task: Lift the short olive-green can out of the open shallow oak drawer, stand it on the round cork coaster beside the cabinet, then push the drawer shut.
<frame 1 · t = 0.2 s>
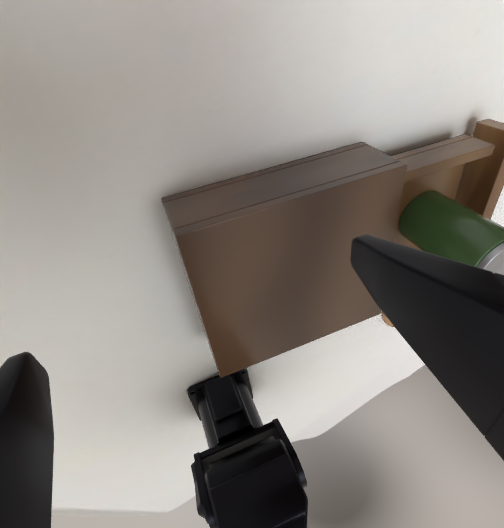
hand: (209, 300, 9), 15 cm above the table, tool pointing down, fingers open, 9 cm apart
cabinet: (275, 248, 29), on the table
drawer: (430, 215, 30), point 2 cm above the table, slide at 10.0 cm, touching can
can: (420, 214, 30), point 2 cm above the table, touching drawer
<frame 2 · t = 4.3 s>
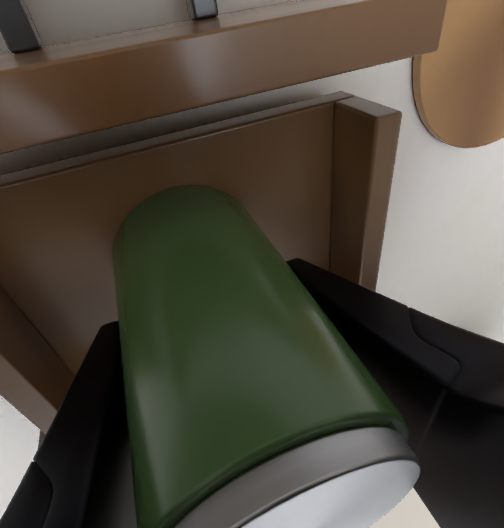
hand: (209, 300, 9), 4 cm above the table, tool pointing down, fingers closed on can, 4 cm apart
drawer: (187, 244, 10), point 2 cm above the table, slide at 10.0 cm, touching can
can: (188, 251, 11), point 2 cm above the table, touching drawer, gripper
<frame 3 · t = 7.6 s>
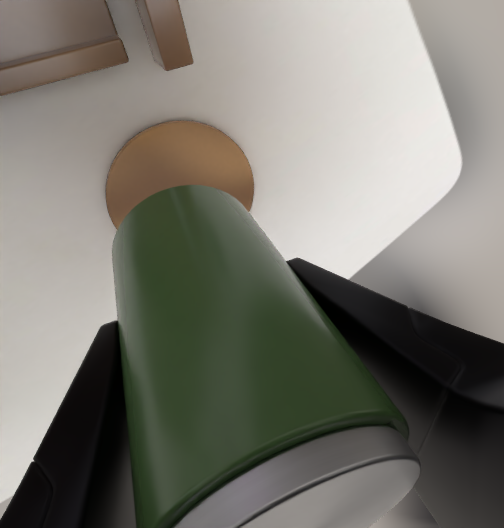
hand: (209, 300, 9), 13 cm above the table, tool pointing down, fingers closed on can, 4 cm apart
coaster: (184, 196, 21), on the table
can: (188, 251, 11), point 11 cm above the table, touching gripper
when the fingers open (3 cm above the table, at t = 11.1 s): can stays where it is, resting on coaster.
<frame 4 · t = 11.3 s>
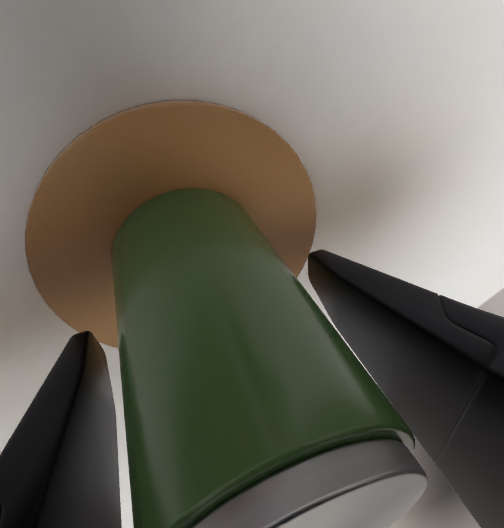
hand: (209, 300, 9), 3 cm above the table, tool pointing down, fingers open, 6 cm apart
coaster: (189, 248, 11), on the table
can: (188, 254, 11), resting on coaster
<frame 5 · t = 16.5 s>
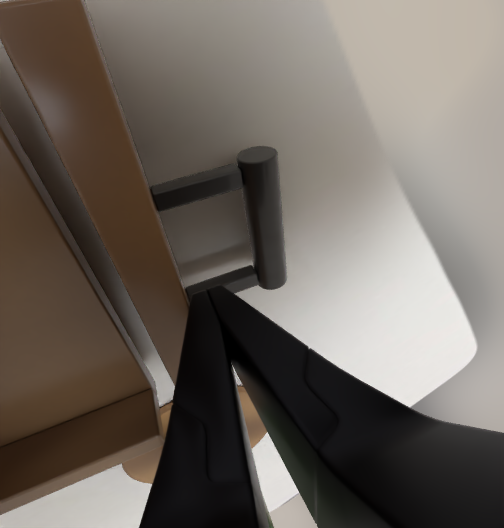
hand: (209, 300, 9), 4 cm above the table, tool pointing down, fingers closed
coaster: (201, 435, 20), on the table
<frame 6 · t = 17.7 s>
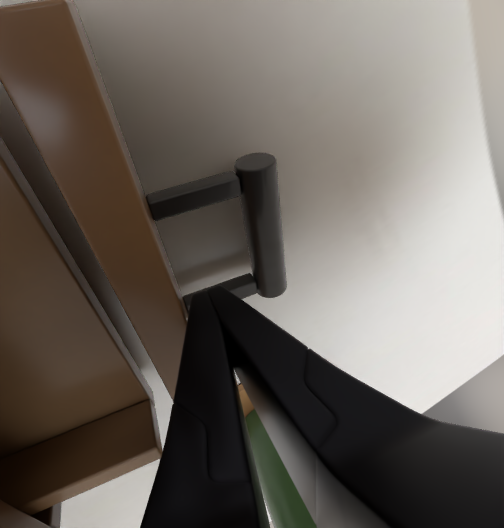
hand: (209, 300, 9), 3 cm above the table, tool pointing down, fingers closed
can: (275, 416, 21), resting on coaster
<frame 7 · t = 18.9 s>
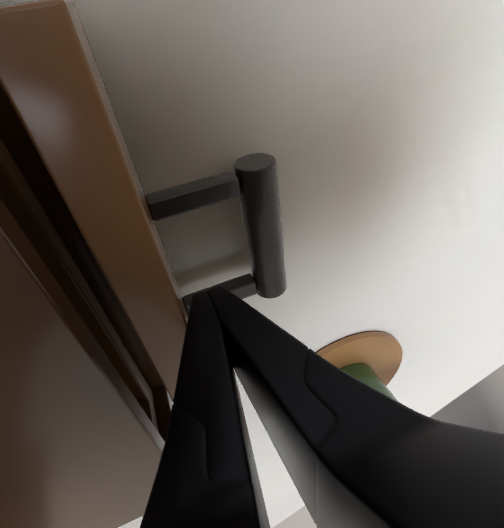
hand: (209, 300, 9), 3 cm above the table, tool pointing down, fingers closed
coaster: (338, 382, 22), on the table
can: (340, 387, 22), resting on coaster
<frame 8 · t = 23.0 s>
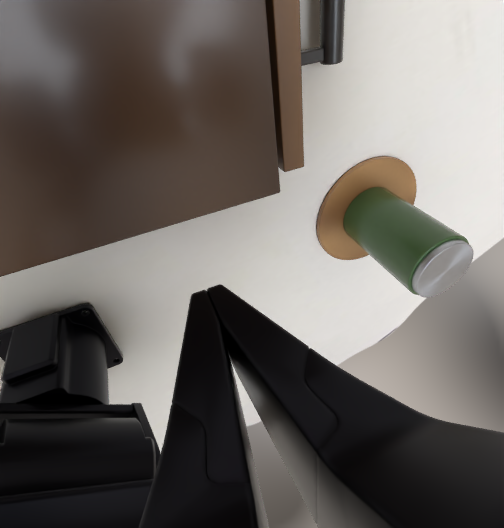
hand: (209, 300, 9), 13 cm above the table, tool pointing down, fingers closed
cabinet: (68, 51, 15), on the table
drawer: (169, 38, 15), point 2 cm above the table, slide at 0.6 cm
coaster: (365, 211, 28), on the table
can: (367, 213, 27), resting on coaster
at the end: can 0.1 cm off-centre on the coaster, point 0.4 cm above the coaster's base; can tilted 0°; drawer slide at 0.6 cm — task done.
